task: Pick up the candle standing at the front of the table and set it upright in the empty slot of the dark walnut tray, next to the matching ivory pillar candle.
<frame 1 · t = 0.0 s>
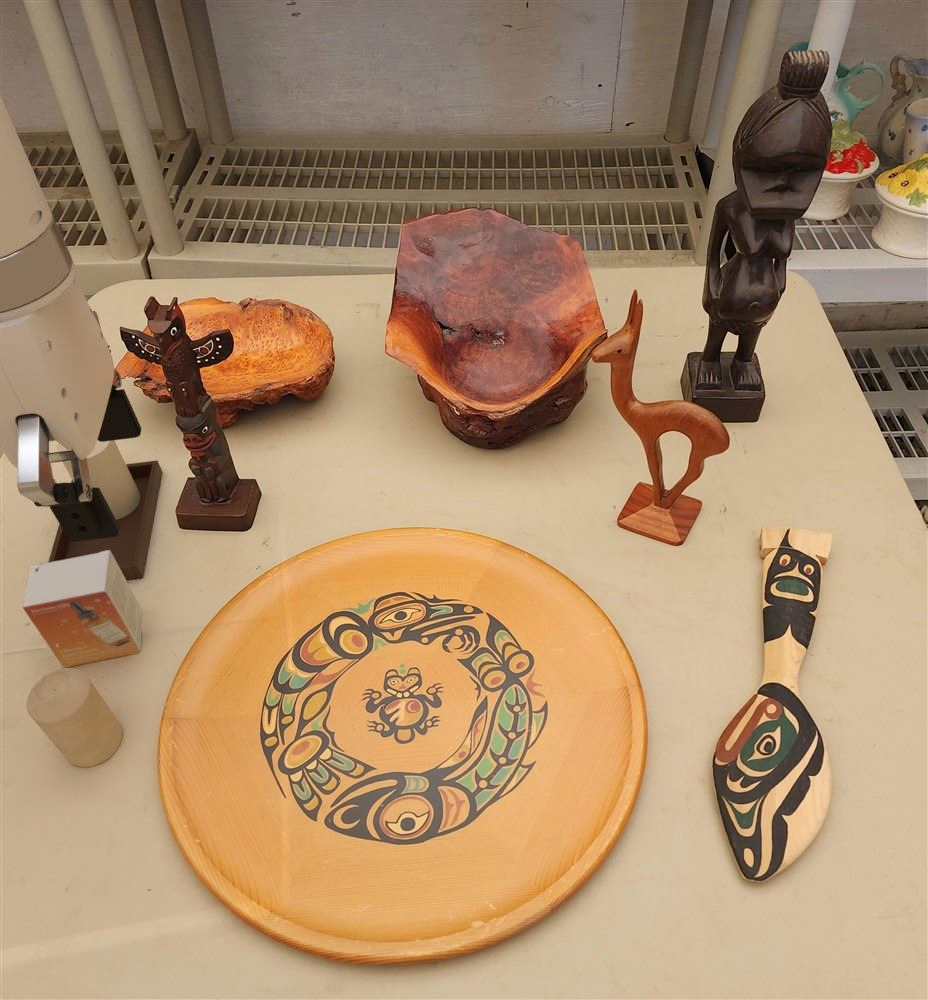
hand: (109, 483, 59), 33 cm above the table, tool pointing down, fingers open, 9 cm apart
small box: (106, 640, 91), on the table
tray: (111, 530, 102), on the table
candle: (95, 742, 83), on the table
pillar: (115, 503, 104), point 1 cm above the table, touching tray
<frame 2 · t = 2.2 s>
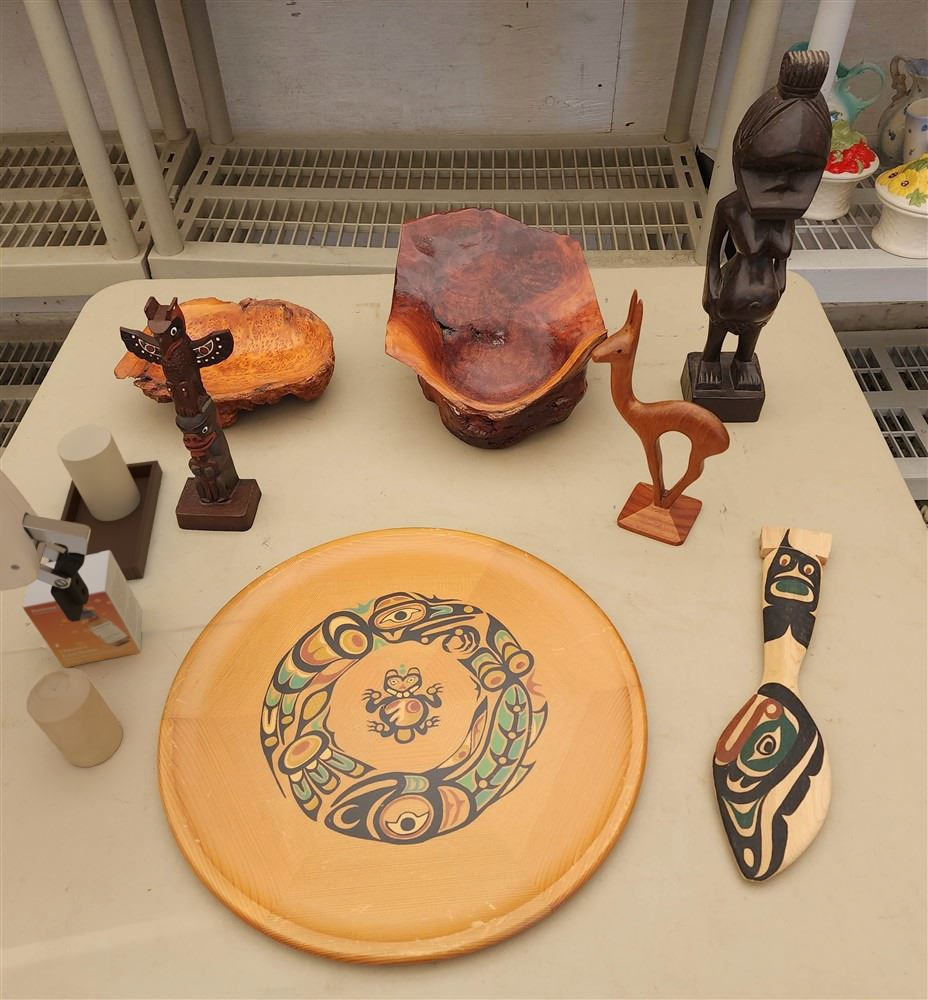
hand: (17, 615, 68), 20 cm above the table, tool pointing down, fingers open, 9 cm apart
nothing on the table moved.
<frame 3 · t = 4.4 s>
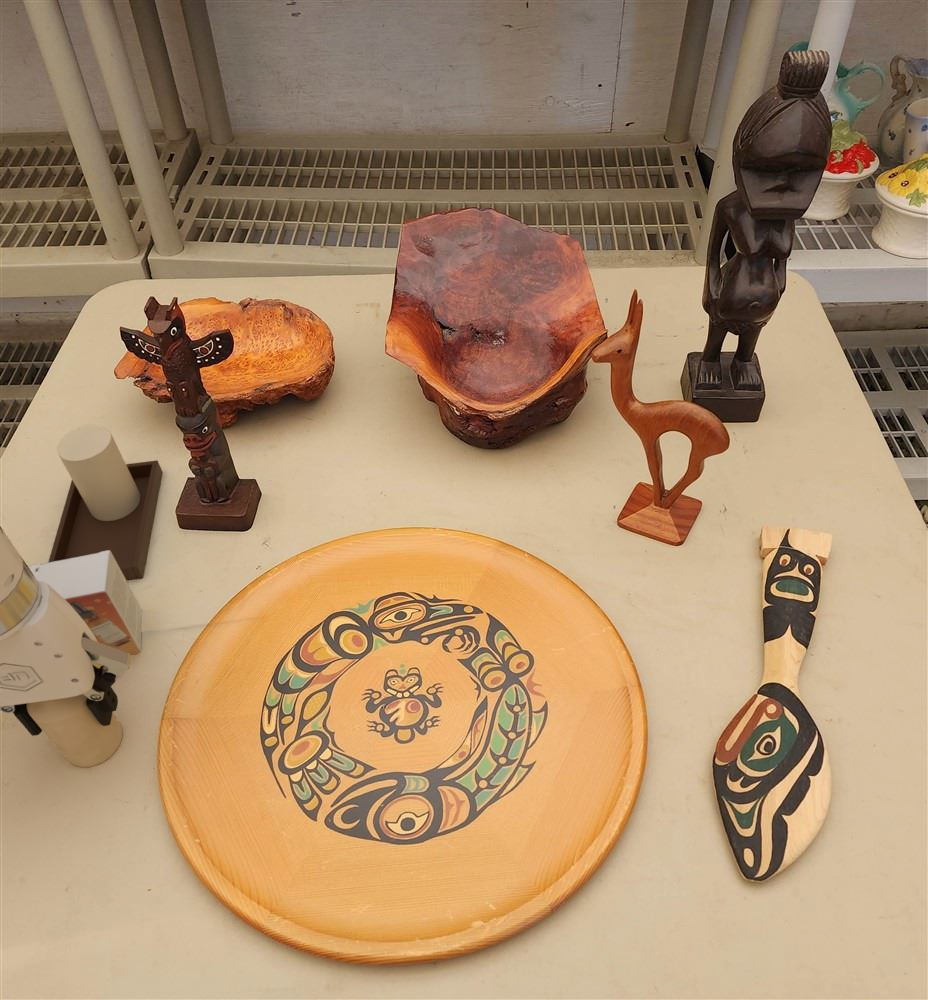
hand: (74, 715, 79), 5 cm above the table, tool pointing down, fingers closed on candle, 5 cm apart
candle: (95, 742, 83), on the table, touching gripper
everything else where it was.
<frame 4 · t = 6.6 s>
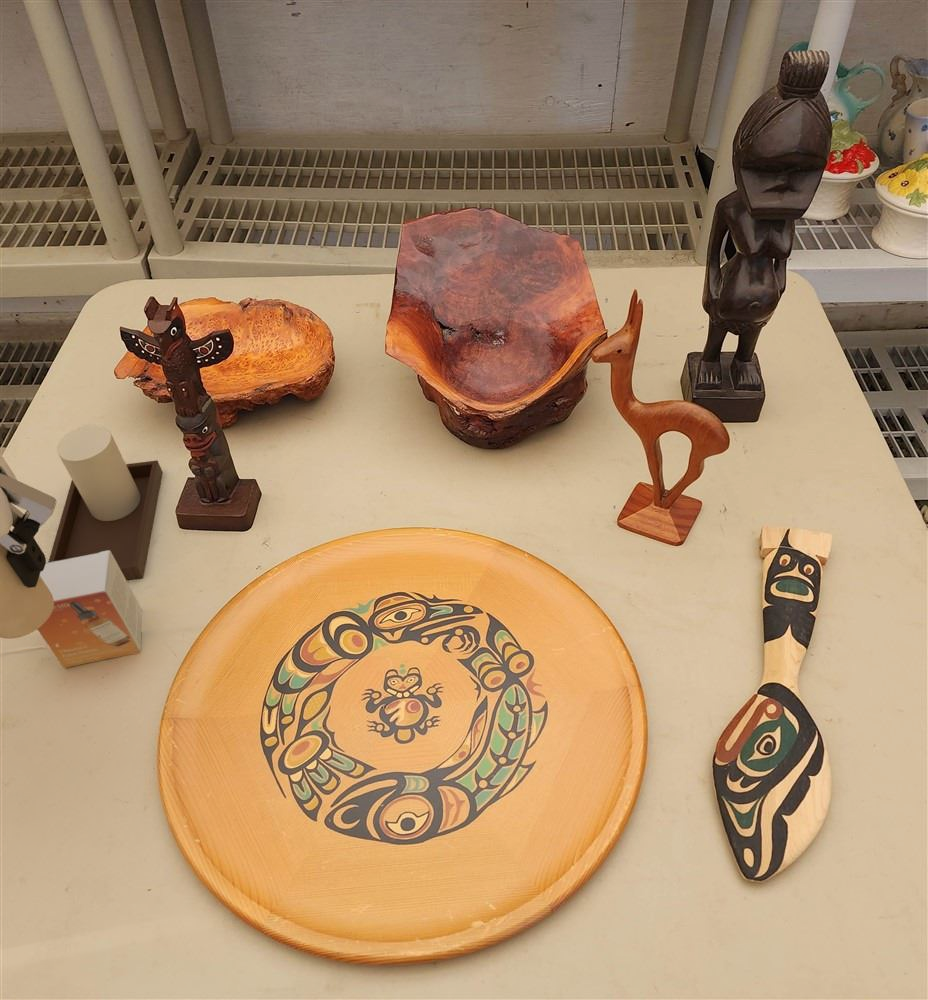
candle: (22, 614, 74), point 16 cm above the table, touching gripper
everything else where it was.
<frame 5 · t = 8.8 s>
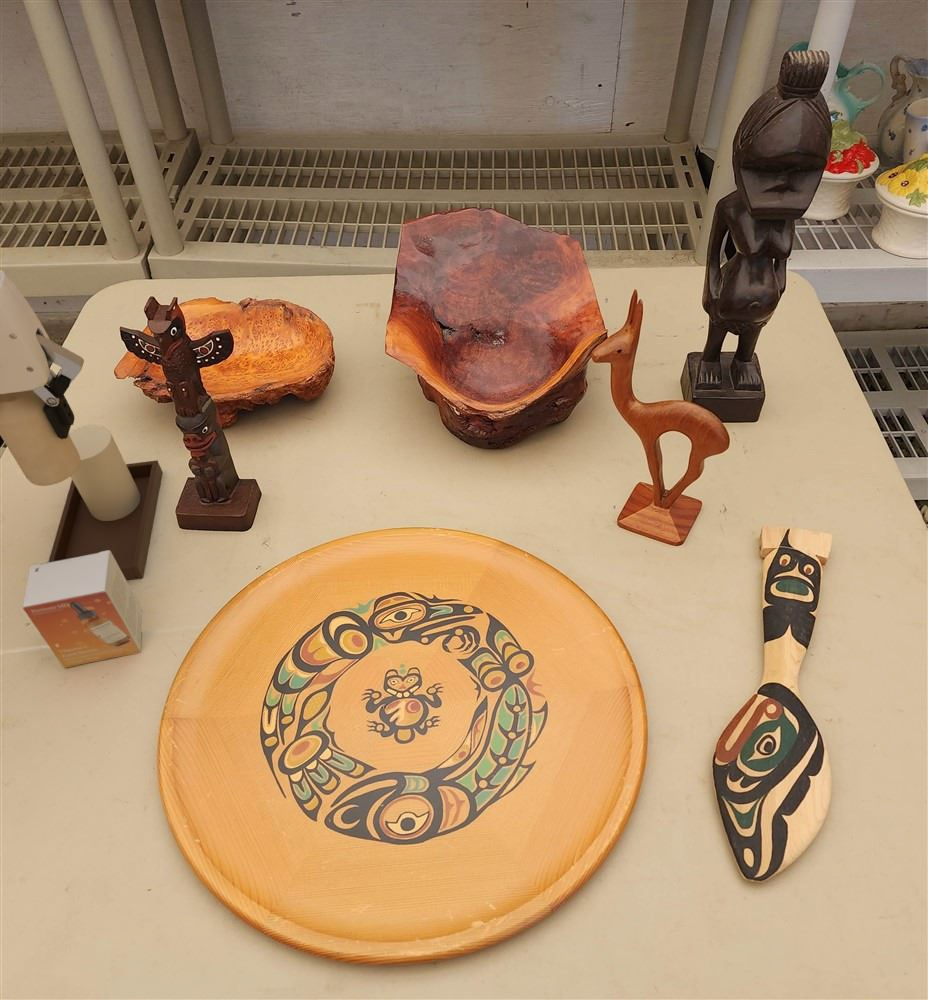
hand: (34, 432, 85), 19 cm above the table, tool pointing down, fingers closed on candle, 5 cm apart
candle: (54, 469, 89), point 14 cm above the table, touching gripper
everything else where it was.
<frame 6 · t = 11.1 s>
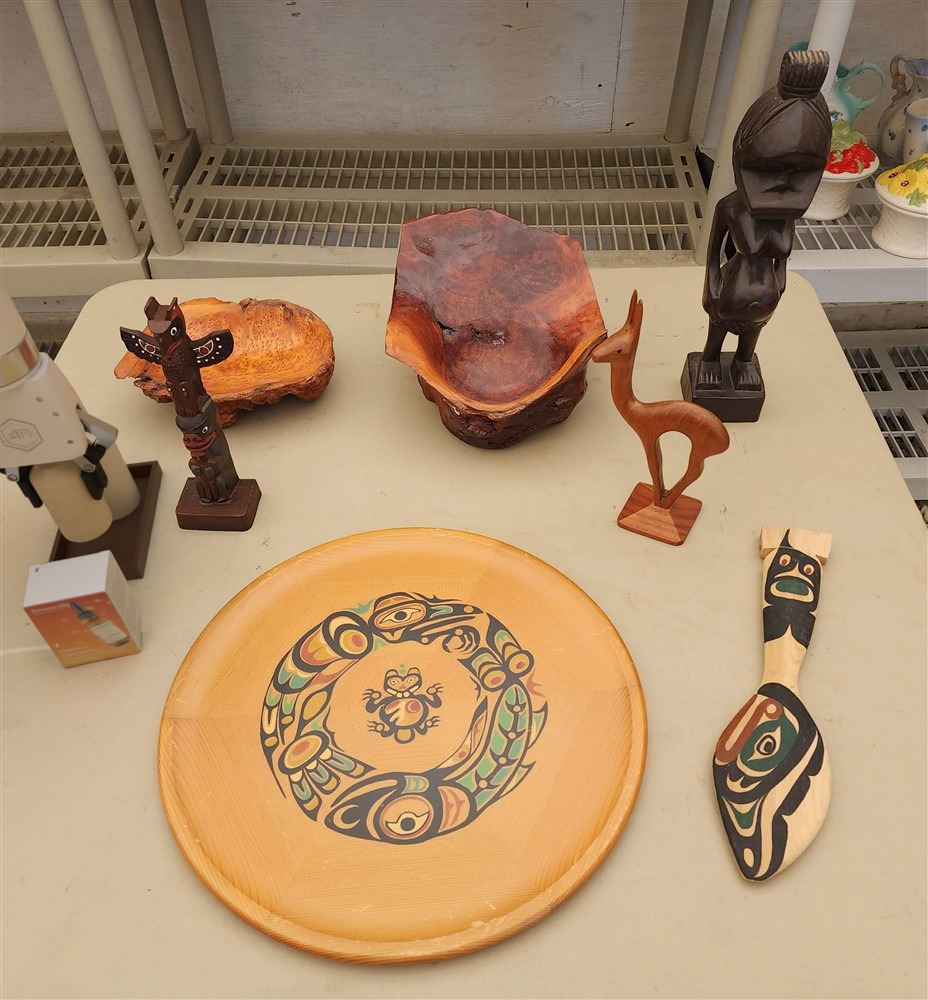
hand: (70, 493, 92), 10 cm above the table, tool pointing down, fingers closed on candle, 5 cm apart
candle: (88, 525, 96), point 5 cm above the table, touching gripper
everything else where it was.
when the fingers open (6 cm above the table, at t = 13.0 s): candle stays where it is, resting on tray.
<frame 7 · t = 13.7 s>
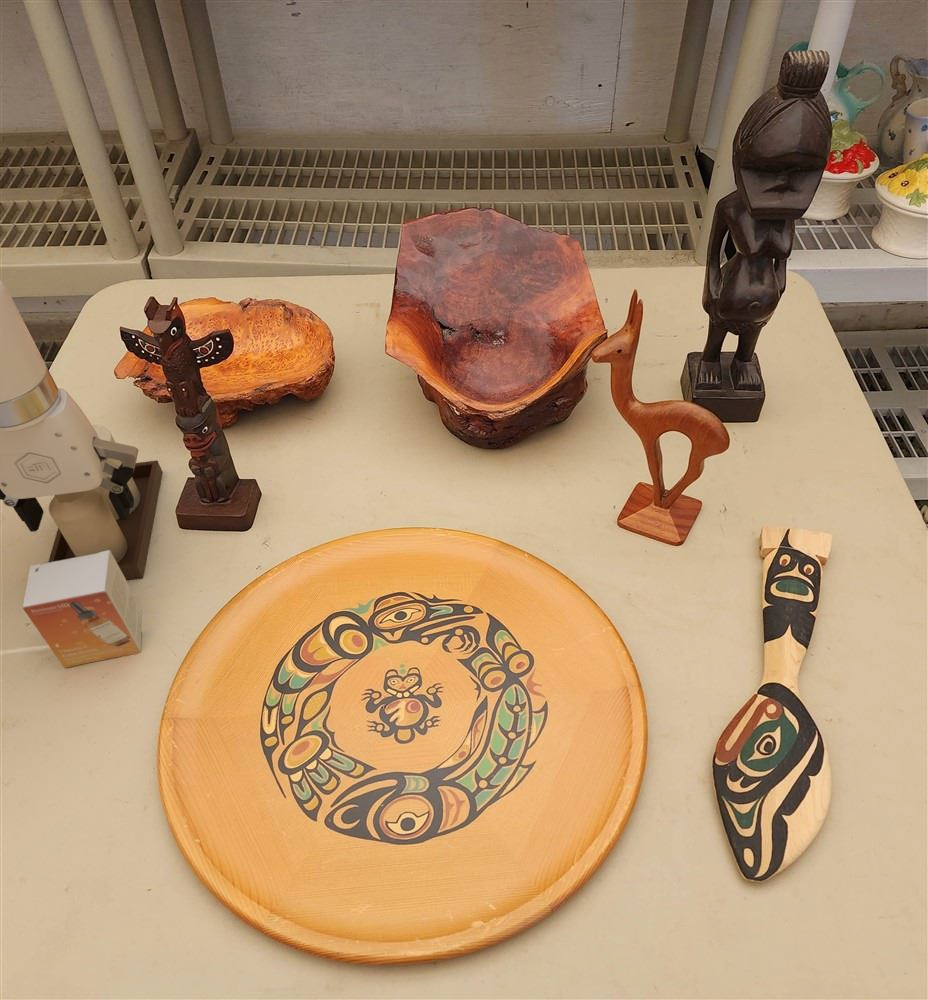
hand: (82, 516, 94), 7 cm above the table, tool pointing down, fingers open, 9 cm apart
candle: (104, 554, 99), resting on tray
everything else where it was.
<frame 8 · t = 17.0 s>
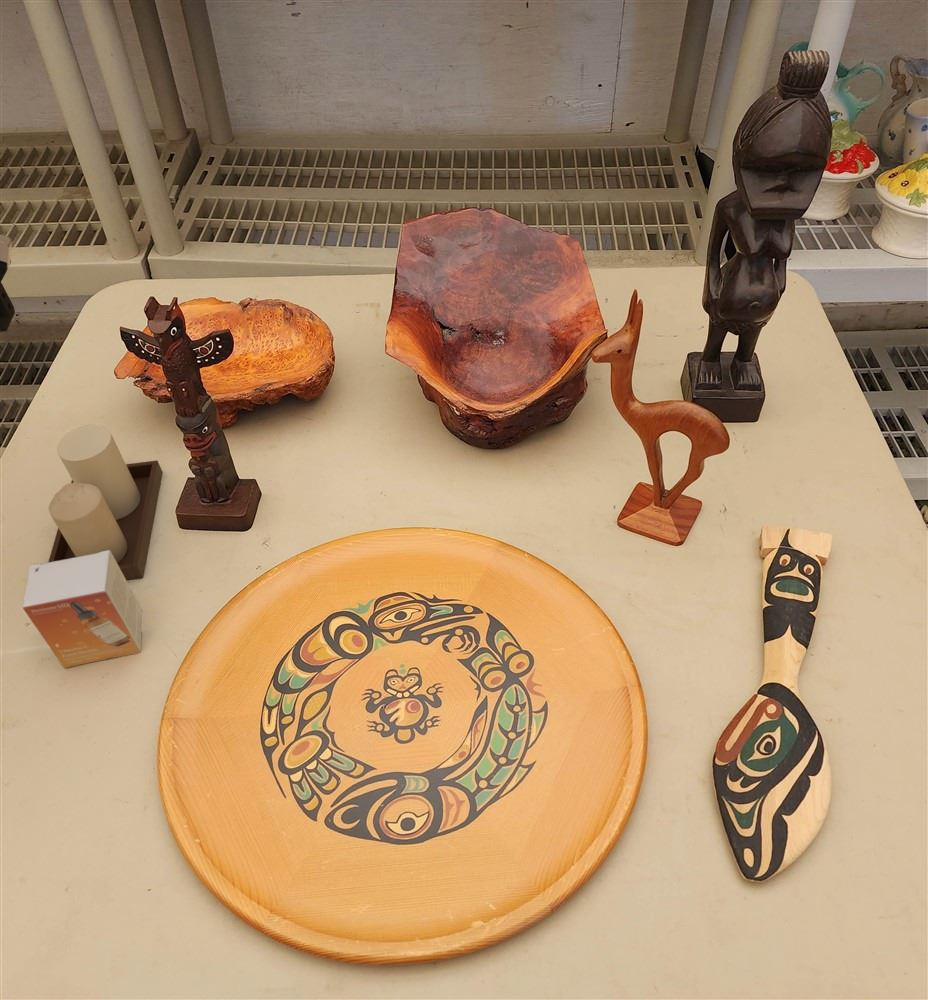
nothing on the table moved.
at the end: candle 0.0 cm from the target spot in the tray, point 0.4 cm above the tray's base; candle tilted 0°; pillar moved 0.0 cm from its start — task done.
